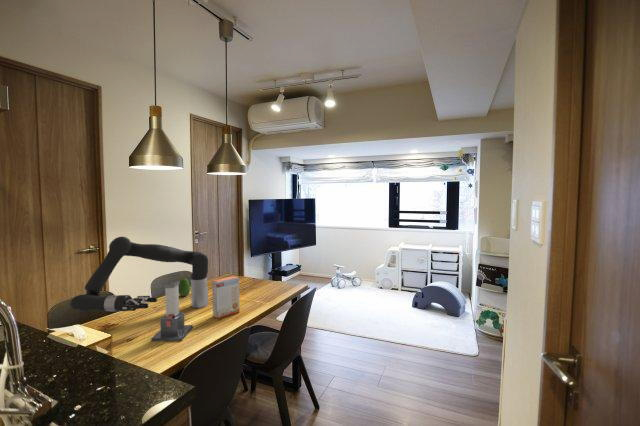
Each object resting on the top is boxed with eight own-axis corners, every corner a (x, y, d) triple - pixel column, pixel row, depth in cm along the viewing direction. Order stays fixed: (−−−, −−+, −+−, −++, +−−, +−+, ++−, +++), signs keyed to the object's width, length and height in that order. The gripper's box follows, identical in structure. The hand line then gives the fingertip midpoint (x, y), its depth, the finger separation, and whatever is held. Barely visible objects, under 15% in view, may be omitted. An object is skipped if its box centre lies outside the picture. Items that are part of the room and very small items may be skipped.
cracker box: (234, 309, 182) (234, 275, 181) (239, 312, 178) (239, 277, 177) (212, 316, 172) (211, 279, 171) (217, 319, 168) (216, 281, 167)
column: (171, 328, 152) (170, 281, 151) (180, 328, 152) (179, 281, 151) (165, 334, 146) (164, 284, 145) (174, 333, 146) (173, 284, 145)
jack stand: (164, 328, 156) (164, 308, 155) (192, 327, 157) (192, 307, 156) (151, 341, 142) (150, 319, 141) (181, 340, 143) (181, 318, 142)
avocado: (192, 294, 211) (192, 277, 210) (187, 297, 203) (187, 280, 202) (180, 294, 210) (180, 277, 210) (175, 297, 202) (175, 280, 202)
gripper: (108, 300, 140) (144, 300, 141) (126, 291, 154) (159, 290, 155) (108, 316, 140) (145, 316, 141) (126, 305, 154) (159, 305, 155)
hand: (152, 302), depth 148 cm, fingers open, 8 cm apart
